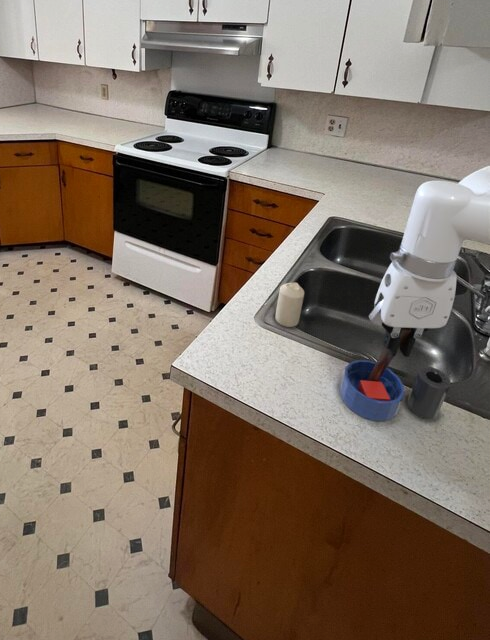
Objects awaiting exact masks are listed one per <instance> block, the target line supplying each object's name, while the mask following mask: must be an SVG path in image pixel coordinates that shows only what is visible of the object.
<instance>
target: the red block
mask: <svg viewBox="0 0 490 640" xmlns="http://www.w3.org/2000/svg"><path fill="white" fill-rule="evenodd" d="M358 391H359V392H360V393H362V394H364V395H365V396H367V397H369V398H372V399H375V400H378V401H390V397H389V395H388V393H387V391H386V389H385V387H384V385H383V383H382V382H379V381H363V380H360V383H359V386H358Z"/></svg>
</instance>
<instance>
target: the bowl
mask: <svg viewBox="0 0 490 640" xmlns="http://www.w3.org/2000/svg"><path fill="white" fill-rule="evenodd" d="M376 363H377V361H372V360H368V359H357V360H353V361H350V362H349V363H348V364H346V366H345V367H344V371H343V375H342V378H341V381H340V389H339V392H340V395H341V398H342V401H343V402H344V404H345V405H346V406H347V408H348V409H350V411H352V412H353V413H354V414H356V415H358V416H360V417H361V418H363V419H366V420H369V421H371V422H387V421H389V420H391V419H393V418H395V417H396V416H397V414H398V412H399V410H400V408H401V405H402V402H403V401H404V398H405V397H404V396H405V385H404V383H403V382H402V380H401V379H400V377H399V376H398V375H397V374H396V373H395V372H394V371H393V370H392V369H390V368H389V367H387V368H386V370H385V372H384V373H383V375H382V377H381V378H380V380H379V382H382V383H383V385H384V387H385V389H386V391H387V393H388V395H389V397H390V401H378V400H375V399H372V398H369V397H367V396H365V395H364V394H362V393H360V392H359V391H358V386H359V383H360V380H363V381H367V378H368V377H369V375H370V373H371V371H372V370H373V368H374V366H375V364H376Z"/></svg>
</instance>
